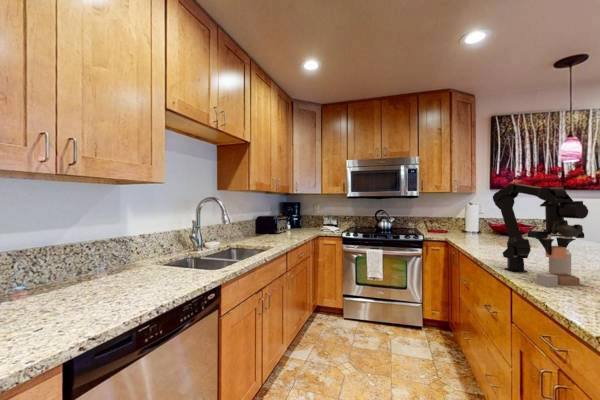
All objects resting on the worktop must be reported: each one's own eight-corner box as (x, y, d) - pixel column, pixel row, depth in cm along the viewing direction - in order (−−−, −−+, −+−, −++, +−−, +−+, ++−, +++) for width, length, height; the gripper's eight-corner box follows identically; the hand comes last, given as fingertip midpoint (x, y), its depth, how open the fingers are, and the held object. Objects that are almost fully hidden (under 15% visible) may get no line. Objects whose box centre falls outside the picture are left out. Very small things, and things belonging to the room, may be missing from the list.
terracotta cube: (545, 256, 118) (545, 245, 118) (556, 256, 117) (556, 245, 118) (555, 258, 113) (554, 247, 113) (566, 258, 113) (566, 247, 113)
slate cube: (536, 284, 113) (536, 273, 113) (545, 283, 114) (545, 272, 114) (548, 288, 109) (548, 276, 109) (557, 287, 109) (557, 275, 109)
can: (551, 275, 125) (551, 249, 125) (546, 271, 131) (546, 246, 131) (574, 277, 121) (574, 250, 121) (567, 273, 128) (567, 247, 128)
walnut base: (546, 281, 118) (546, 272, 118) (564, 281, 117) (564, 273, 117) (560, 286, 111) (560, 277, 111) (579, 286, 110) (579, 277, 110)
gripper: (548, 218, 108) (549, 259, 108) (597, 218, 107) (599, 258, 107) (525, 217, 119) (526, 253, 119) (570, 216, 118) (571, 253, 118)
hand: (555, 255), depth 115 cm, fingers closed on terracotta cube, 4 cm apart
